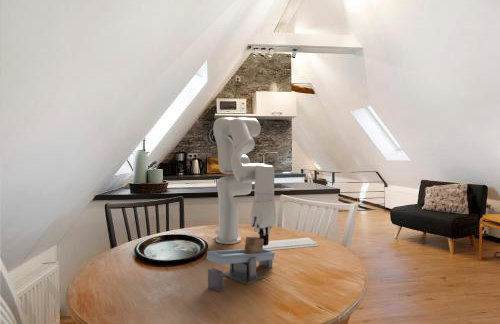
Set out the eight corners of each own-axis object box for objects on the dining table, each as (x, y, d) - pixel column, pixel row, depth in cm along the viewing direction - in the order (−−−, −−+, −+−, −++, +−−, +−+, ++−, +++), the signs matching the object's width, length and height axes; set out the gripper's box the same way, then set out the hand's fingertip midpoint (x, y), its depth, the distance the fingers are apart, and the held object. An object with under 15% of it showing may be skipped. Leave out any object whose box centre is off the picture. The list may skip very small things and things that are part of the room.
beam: (205, 258, 103) (206, 250, 103) (258, 255, 124) (259, 247, 124) (221, 264, 98) (223, 255, 98) (274, 259, 119) (275, 252, 119)
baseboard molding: (320, 248, 144) (308, 240, 156) (320, 242, 144) (308, 235, 156) (256, 254, 136) (249, 246, 147) (256, 247, 135) (249, 239, 147)
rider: (243, 253, 115) (246, 236, 115) (252, 252, 118) (255, 236, 119) (252, 255, 112) (255, 239, 112) (261, 255, 115) (263, 238, 116)
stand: (201, 284, 105) (201, 261, 104) (255, 261, 126) (255, 242, 125) (225, 295, 97) (226, 271, 96) (279, 269, 118) (279, 249, 117)
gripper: (268, 194, 127) (268, 238, 128) (243, 198, 116) (243, 247, 116) (283, 196, 122) (283, 242, 123) (259, 200, 111) (258, 251, 111)
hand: (263, 244), depth 120 cm, fingers closed
